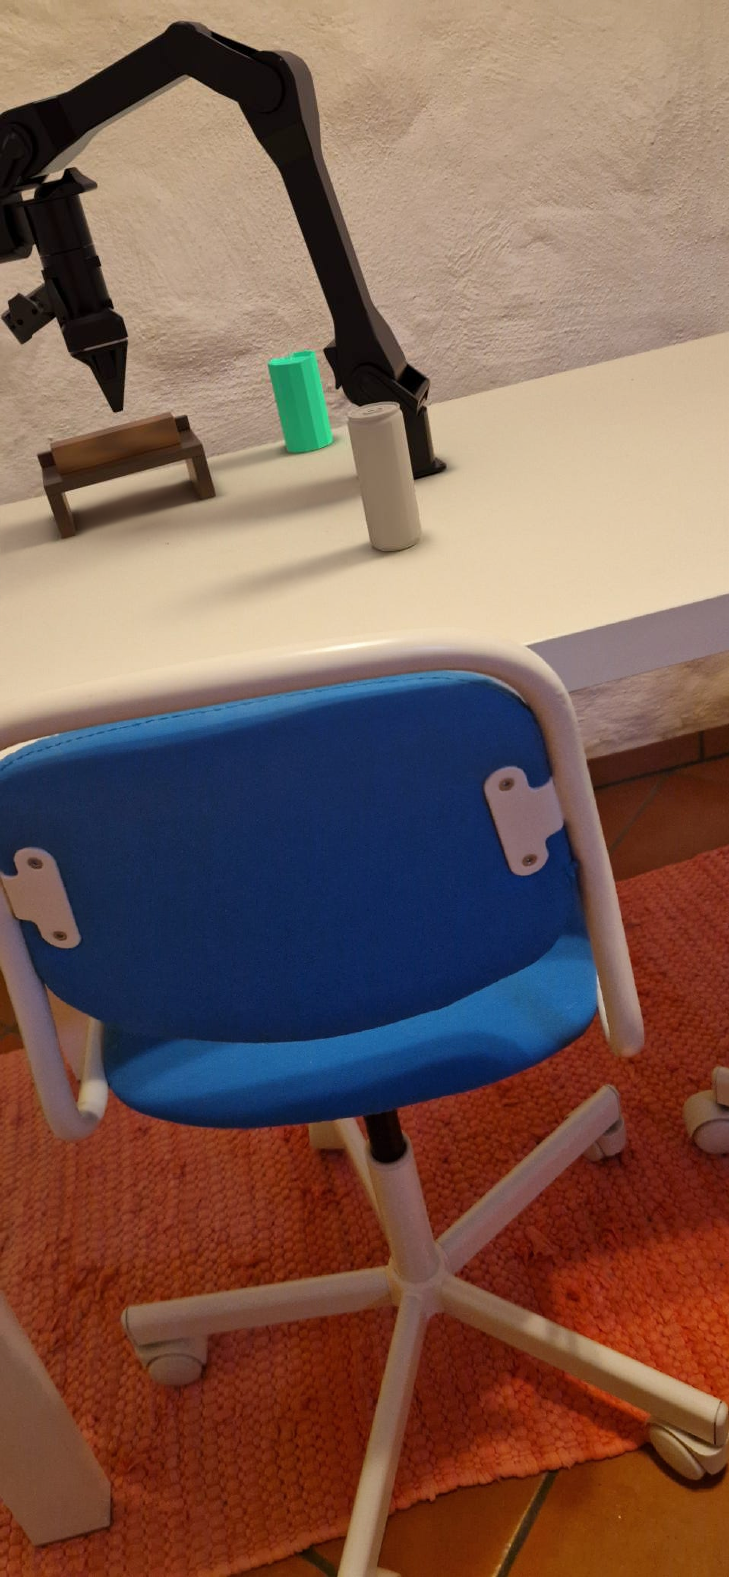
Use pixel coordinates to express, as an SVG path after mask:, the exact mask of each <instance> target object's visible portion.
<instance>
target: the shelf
mask: <svg viewBox="0 0 729 1577" xmlns="http://www.w3.org/2000/svg"><path fill="white" fill-rule="evenodd" d="M173 417H174V416H173ZM174 420H175V424H176V427H177V431H178V434H179V438H180V442H181V443H179V444H175V445H171V446H168V447H164V448H160V449H156V450H153V451H149V452H145V453H141V454H138V455H134V456H130V457H127V458H123V459H119V460H115V461H112V462H108V463H104V464H100V465H97V466H93V467H89V468H86V469H82V470H78V471H74V472H71V473H67V474H63V475H59V472H58V469H57V466H56V463H55V460H54V457H53V454H52V452H51V449H49V450H45V451H42V452H38V453H36V457H37V459H38V463H39V466H40V468H41V477H42V486H43V490H44V492H45V495H46V498H47V501H48V503H49V506H50V509H51V512H52V515H53V518H54V520H55V523H56V526H57V529H58V531H59V534H60V537H61V539H65V538H69V537H72V536H76V528H75V522H74V517H73V512H72V509H71V506H70V503H69V500H68V497H67V495H66V492H70V491H71V492H72V491H74V490H78V489H81V488H85V487H89V486H92V485H96V484H101V483H104V482H107V481H112V480H115V479H118V478H123V477H127V476H130V475H133V474H138V473H140V472H145V471H149V470H152V469H155V468H159V467H164V466H167V465H170V464H174V463H178V462H182V461H185V464H186V465H185V466H186V468H187V472H188V476H189V479H190V481H191V482H192V485H193V486H194V488H195V489H196V490H197V492H198V494H199V495H200V497H201V498H202V500H207V499H211V498H213V497H216V496H217V493H216V489H215V486H214V483H213V479H212V473H211V471H210V468H209V463H208V459H207V456H206V452H205V449H204V445H203V443H202V442H201V440H200V439H199V438H198V436H197V435H196V433H195V432H194V431H193V429H192V428H191V424H190V421H189V417H188V415H187V414H186V413H185V414H181V415H178V416H175V417H174Z"/></svg>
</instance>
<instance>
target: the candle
mask: <svg viewBox="0 0 729 1577" xmlns="http://www.w3.org/2000/svg"><path fill="white" fill-rule="evenodd" d="M287 349H288V355H287V356H285V357H283V358H272V359H271V360H270V361H268V363H267V369H268V374H269V378H270V383H271V387H272V391H273V395H274V399H275V404H276V408H277V412H278V413H277V414H278V418H279V421H280V425H281V430H282V434H283V438H284V444H285V449H286V450H287V453H295V454H299V453H307V452H313V451H315V450H319V449H322V448H324V447H327V446H329V445H330V444H332V443H333V442H334V439H333V434H332V428H331V424H330V419H329V414H328V409H327V404H326V398H325V393H324V390H323V384H322V380H321V374H320V369H319V365H318V361H317V360H318V359H317V355H316V351H314V350H308V349H307V350H300V351H295V352H292V353H291V349H290V344H289V343H287Z"/></svg>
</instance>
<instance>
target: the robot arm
mask: <svg viewBox="0 0 729 1577" xmlns="http://www.w3.org/2000/svg"><path fill="white" fill-rule="evenodd" d="M191 78H192V79H194V80H195V81H197V82H199V83H200V84H202V85H204V86H205V87H207V88H209V89H210V90H212V91H213V92H215V93H217V94H219V95H221V96H223V97H226V98H227V99H229V100H231V101H234V102H236V103H237V104H238V106H239V109H240V111H241V112H242V114H243V116H244V118H245V120H246V122H247V124H248V125H249V127H250V129H251V131H252V133H253V135H254V137H255V138H256V141H257V142H258V143H259V145H260V146H261V147H262V149H263V150H264V151H265V153H266V155H267V156H268V157H269V159H270V160H271V161H272V162H273V164H274V165H275V167H276V168H277V170H278V172H279V174H280V176H281V179H282V182H283V184H284V187H285V190H286V193H287V196H288V198H289V202H290V204H291V207H292V210H293V212H294V215H295V218H296V221H297V224H298V227H299V229H300V232H301V234H302V237H303V240H304V243H305V246H306V248H307V251H308V254H309V257H310V260H311V262H312V263H311V264H312V265H313V268H314V271H315V274H316V276H317V279H318V282H319V285H320V288H321V290H322V293H323V297H324V299H325V301H326V304H327V308H328V310H329V313H330V315H331V318H332V322H333V332H334V333H333V334H334V338H333V339H331V341H329V343H328V344H327V345H326V346H325V347H324V348H323V349H322V351H323V352H322V353H323V354H324V357H325V360H326V361H327V364H328V365H329V367H330V368H331V371H332V372H333V376H334V377H333V378H334V389H335V390H337V391H338V390H339V389H340V388H341V389H342V392H343V394H344V396H345V398H346V399H347V400H348V401H349V402H350V403H351V404H352V405H355V406H357V407H358V408H359V407H362V406H365V405H369V404H374V403H380V402H396V403H398V404H399V405H400V407H399V409H400V410H401V411H402V414H403V420H404V426H405V432H406V438H407V444H408V450H409V456H410V462H411V468H412V474H413V479H415V478H420V477H423V476H425V475H430V474H432V473H437V472H441V471H444V470H446V469H447V468H448V467H447V466H448V465H447V463H446V462H444V461H443V460H441V459H440V458H438V457H436V456H435V451H434V450H435V449H434V443H433V438H432V431H431V425H430V417H429V411H428V407H427V406H425V405H424V404H425V402H426V401H427V400H428V398H429V394H430V388H431V379H430V378H428V377H427V376H426V375H425V374H423V373H422V372H420V370H418V369H416V367H414V366H413V365H411V364H410V363H409V362H407V358H406V356H405V353H404V351H403V349H402V347H401V346H400V344H399V341H398V339H397V338H396V335H395V334H394V332H393V330H392V328H391V327H390V325H389V324H388V322H387V321H386V319H384V317H383V315H382V314H381V313H380V311H379V310H378V309H377V307H376V306H375V304H374V302H373V300H372V298H371V294H370V292H369V289H368V286H367V282H366V280H365V277H364V274H363V271H362V268H361V265H360V262H359V259H358V257H357V256H358V255H357V254H356V250H355V247H354V244H353V241H352V239H351V235H350V232H349V230H348V227H347V224H346V220H345V218H344V215H343V211H342V208H341V206H340V203H339V200H338V196H337V193H336V191H335V188H334V185H333V182H332V180H331V176H330V173H329V171H328V168H327V165H326V161H325V159H324V156H323V150H322V137H321V124H320V123H321V122H320V112H319V107H318V101H317V96H316V91H315V84H314V80H313V75H312V72H311V70H310V68H309V65H308V64H307V63H306V61H305V60H304V59H303V58H302V57H300V56H298V55H297V54H295V53H294V52H291V51H289V50H282V49H279V50H278V49H277V50H275V49H274V50H273V49H272V50H271V49H269V50H267V49H266V50H264V49H263V50H259V49H257V48H255V47H252V46H250V45H247V44H245V43H242V42H241V41H237V40H235V39H233V38H230V37H227V36H225V35H222V34H220V33H218V32H216V31H214V30H211V29H209V27H208V26H206V25H205V24H203V23H201V22H199V21H191V20H190V21H188V20H178V21H174V22H172V23H171V24H169V25H168V26H167V28H166V29H165V30H164V31H163V32H162V33H161V34H159V35H157V36H156V37H154V38H153V39H151V40H149V41H148V42H146V43H144V44H143V45H141V46H139V47H138V48H136V49H135V50H133V51H131V52H130V53H128V54H127V55H125V56H123V57H122V58H120V59H119V60H117V61H115V62H114V63H112V64H110V65H108V66H107V67H105V68H104V69H102V70H101V71H100V70H99V72H97V73H95V74H94V75H92V76H91V77H89V78H87V79H86V80H84V81H82V82H81V83H79V84H77V85H76V86H75V87H73V88H71V89H70V90H68V91H65V92H62V93H59V94H56V95H53V96H49V97H45V98H41V99H38V100H34V101H30V102H27V103H25V104H21V105H19V106H15V107H13V108H11V109H7V110H5V111H3V112H1V113H0V265H3V264H9V263H12V262H16V261H17V262H18V261H22V260H26V259H29V257H30V256H31V255H32V253H33V248H34V246H35V247H36V251H37V254H38V256H39V261H40V263H41V267H42V269H41V270H40V273H41V276H42V279H43V283H42V284H40V285H38V286H37V287H36V288H35V289H33V290H32V291H30V292H29V293H27V294H26V295H24V294H23V293H21V292H17V293H16V294H15V295H14V296H13V297H12V298H10V299H8V300H7V306H8V308H7V309H6V310H4V311H3V313H1V315H0V319H1V320H2V321H3V323H4V324H5V326H6V327H7V328H8V329H9V331H10V332H11V334H12V335H13V336H14V337H15V339H16V341H17V342H18V344H20V345H21V346H22V345H24V344H26V343H28V342H29V341H30V340H32V338H33V335H35V334H36V333H37V332H39V331H40V330H41V329H43V328H44V327H45V326H47V325H48V324H50V323H51V322H53V320H54V319H56V321H57V324H58V326H59V329H60V332H61V335H62V337H63V340H64V342H65V346H66V349H67V352H68V353H69V356H70V357H71V358H72V359H74V360H77V361H79V362H80V363H83V364H84V365H86V366H88V367H89V369H90V371H91V373H92V376H94V379H95V380H96V383H97V384H98V386H99V388H100V390H101V392H102V394H103V396H104V397H105V400H106V401H107V403H108V406H109V407H110V409H111V411H112V413H114V414H118V413H122V412H123V411H124V406H125V405H124V404H125V390H126V374H127V373H126V372H127V360H128V346H129V340H128V338H129V333H128V330H127V327H126V324H125V320H124V317H123V316H122V315H121V314H120V313H119V312H117V311H116V310H114V309H115V307H114V302H113V299H112V297H110V293H109V290H108V287H107V283H106V280H105V277H104V273H103V270H102V262H101V259H100V256H99V255H98V254H97V250H96V247H95V244H94V240H93V237H92V233H91V231H90V227H89V224H88V220H87V217H86V213H85V210H84V206H83V203H82V200H81V196H80V195H81V194H85V193H89V192H92V191H96V190H97V189H98V187H99V186H98V183H97V181H95V180H93V179H92V178H90V177H88V176H87V175H85V174H83V173H82V172H81V171H80V170H79V168H77V167H76V166H71V167H67V166H68V165H70V164H71V163H72V162H73V161H74V160H75V159H76V158H77V157H78V156H79V155H80V154H81V153H82V152H84V150H86V148H87V147H88V146H89V144H90V142H91V141H92V140H93V139H94V138H95V137H96V136H97V135H98V134H99V133H101V131H103V130H104V129H105V128H107V127H108V126H110V125H112V124H114V123H116V122H118V121H119V120H120V119H122V118H124V117H126V116H127V115H129V114H131V113H132V112H134V111H136V110H138V109H139V108H141V107H143V106H145V105H146V104H148V103H150V102H151V101H153V100H154V99H157V98H158V97H160V96H161V95H163V94H165V93H167V92H168V91H169V90H172V89H173V88H175V87H177V86H178V85H180V84H182V83H184V82H185V81H187V80H189V79H191ZM61 171H63V174H62V176H61V178H59V179H54V180H49V181H47V179H48V178H49V177H50V175H51V174H55V173H58V172H61ZM31 190H34V192H33V198H28V199H24V198H23V195H22V194H23V192H28V191H31Z"/></svg>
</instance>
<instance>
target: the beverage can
mask: <svg viewBox="0 0 729 1577" xmlns="http://www.w3.org/2000/svg"><path fill="white" fill-rule="evenodd" d="M399 407H400V405H399V404H398V403H396V402H380V403H374V404H369V405H365V406H362V407H359V406H358V407H357V408H354V409H351V410H350V411H349V412H348V413H347V416H346V417H347V419H348V420H347V429H348V435H349V441H350V444H351V445H350V446H351V450H352V456H353V461H354V467H355V470H356V476H357V482H358V486H359V492H360V496H361V497H360V498H361V502H362V507H363V512H364V518H365V522H366V527H367V528H366V529H367V532H368V538H369V542H370V544H371V545H372V546H373V547H374V548H375V549H376V550H378V551H382V552H395V551H401V550H404V549H407V548H410V547H412V546H414V545H415V544H417V543H418V542H419V541H420V539H421V537H422V534H423V528H422V522H421V517H420V512H419V505H418V499H417V494H416V486H415V482H414V480H415V479H414V478H413V474H412V468H411V462H410V456H409V450H408V444H407V438H406V432H405V426H404V420H403V414H402V411H401V410H400V409H399Z"/></svg>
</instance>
